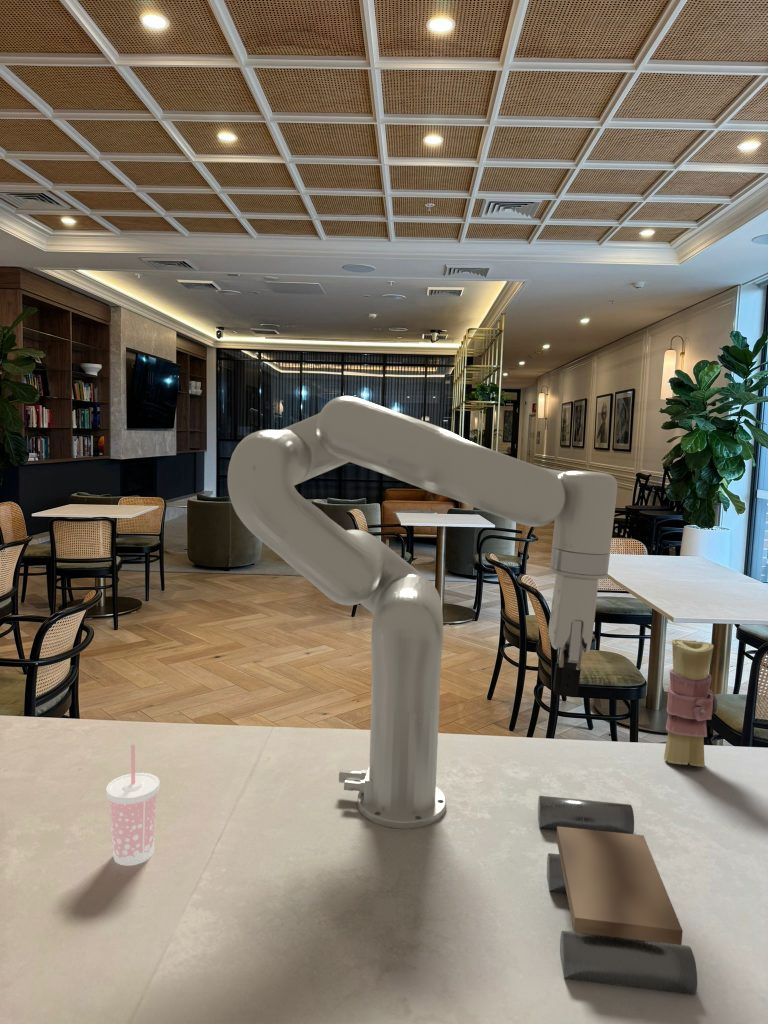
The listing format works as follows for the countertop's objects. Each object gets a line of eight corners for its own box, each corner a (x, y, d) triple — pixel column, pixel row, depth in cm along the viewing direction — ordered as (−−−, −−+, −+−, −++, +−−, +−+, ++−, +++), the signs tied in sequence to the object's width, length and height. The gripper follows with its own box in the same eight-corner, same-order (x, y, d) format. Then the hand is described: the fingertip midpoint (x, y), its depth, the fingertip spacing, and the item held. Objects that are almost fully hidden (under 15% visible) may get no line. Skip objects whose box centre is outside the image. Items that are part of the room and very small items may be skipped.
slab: (574, 931, 67) (574, 917, 67) (556, 838, 83) (557, 826, 83) (681, 945, 66) (682, 930, 66) (642, 847, 82) (643, 835, 81)
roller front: (547, 846, 82) (546, 879, 83) (551, 864, 79) (549, 898, 79) (652, 857, 81) (650, 890, 81) (661, 876, 77) (659, 911, 77)
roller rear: (539, 834, 93) (541, 811, 91) (537, 811, 96) (539, 789, 95) (631, 843, 91) (635, 820, 89) (626, 820, 95) (629, 797, 93)
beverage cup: (146, 834, 89) (145, 729, 87) (169, 855, 84) (168, 746, 83) (98, 853, 84) (96, 744, 83) (120, 876, 80) (118, 762, 78)
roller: (561, 921, 69) (559, 957, 70) (566, 950, 65) (564, 988, 66) (685, 936, 68) (682, 972, 68) (698, 967, 64) (695, 1006, 64)
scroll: (718, 775, 109) (729, 653, 107) (668, 769, 111) (677, 648, 108) (705, 754, 116) (715, 639, 114) (659, 749, 118) (668, 635, 116)
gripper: (547, 551, 100) (534, 672, 103) (554, 570, 86) (540, 711, 88) (600, 556, 99) (586, 679, 101) (617, 576, 85) (600, 719, 87)
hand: (565, 693), depth 95 cm, fingers closed
